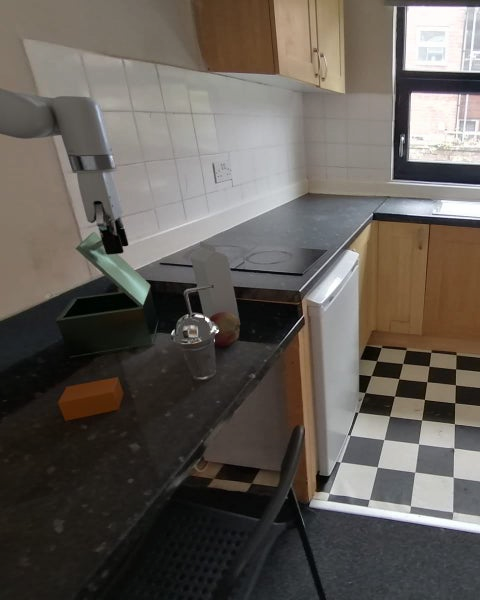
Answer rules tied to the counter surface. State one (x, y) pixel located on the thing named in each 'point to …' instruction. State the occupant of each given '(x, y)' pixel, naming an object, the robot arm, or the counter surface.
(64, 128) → the robot arm
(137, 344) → the dark green storage bin
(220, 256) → the milk
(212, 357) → the cup with straw
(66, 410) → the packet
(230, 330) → the fruit
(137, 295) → the bin lid
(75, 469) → the counter surface
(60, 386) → the counter surface
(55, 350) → the counter surface
